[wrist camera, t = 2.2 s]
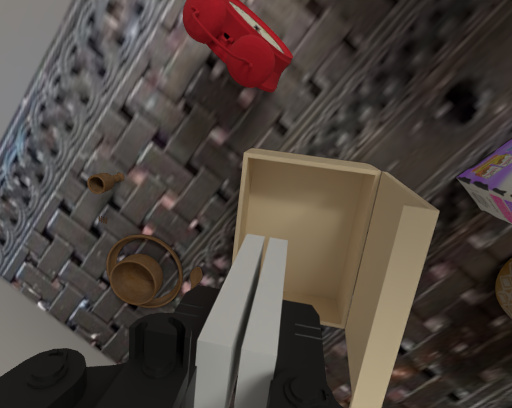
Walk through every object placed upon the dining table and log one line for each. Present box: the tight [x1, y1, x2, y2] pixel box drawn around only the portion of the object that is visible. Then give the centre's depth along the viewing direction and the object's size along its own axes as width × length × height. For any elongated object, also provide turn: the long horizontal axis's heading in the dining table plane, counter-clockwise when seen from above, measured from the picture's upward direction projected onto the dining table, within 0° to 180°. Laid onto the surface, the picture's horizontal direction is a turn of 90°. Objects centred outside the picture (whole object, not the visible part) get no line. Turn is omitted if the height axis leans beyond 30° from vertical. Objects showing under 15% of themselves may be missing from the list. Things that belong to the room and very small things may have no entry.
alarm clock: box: [183, 0, 293, 92], centre depth 30 cm, size 10×6×15 cm, turn 47°
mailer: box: [232, 148, 381, 329], centre depth 39 cm, size 20×15×6 cm
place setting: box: [87, 173, 202, 308], centre depth 44 cm, size 18×20×6 cm
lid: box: [345, 172, 440, 408], centre depth 28 cm, size 20×15×2 cm
